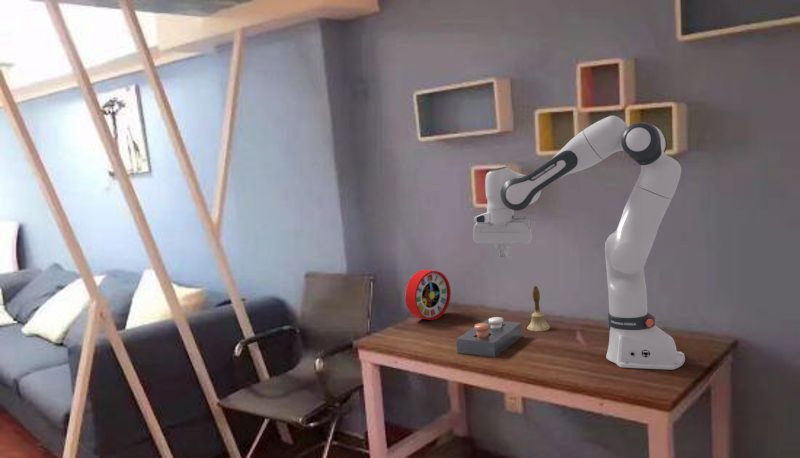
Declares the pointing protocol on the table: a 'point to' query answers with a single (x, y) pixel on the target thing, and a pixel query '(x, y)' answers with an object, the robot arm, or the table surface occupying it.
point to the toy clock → (428, 294)
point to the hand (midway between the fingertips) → (503, 256)
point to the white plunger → (496, 322)
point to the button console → (489, 340)
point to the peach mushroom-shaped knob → (482, 330)
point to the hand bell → (537, 315)
